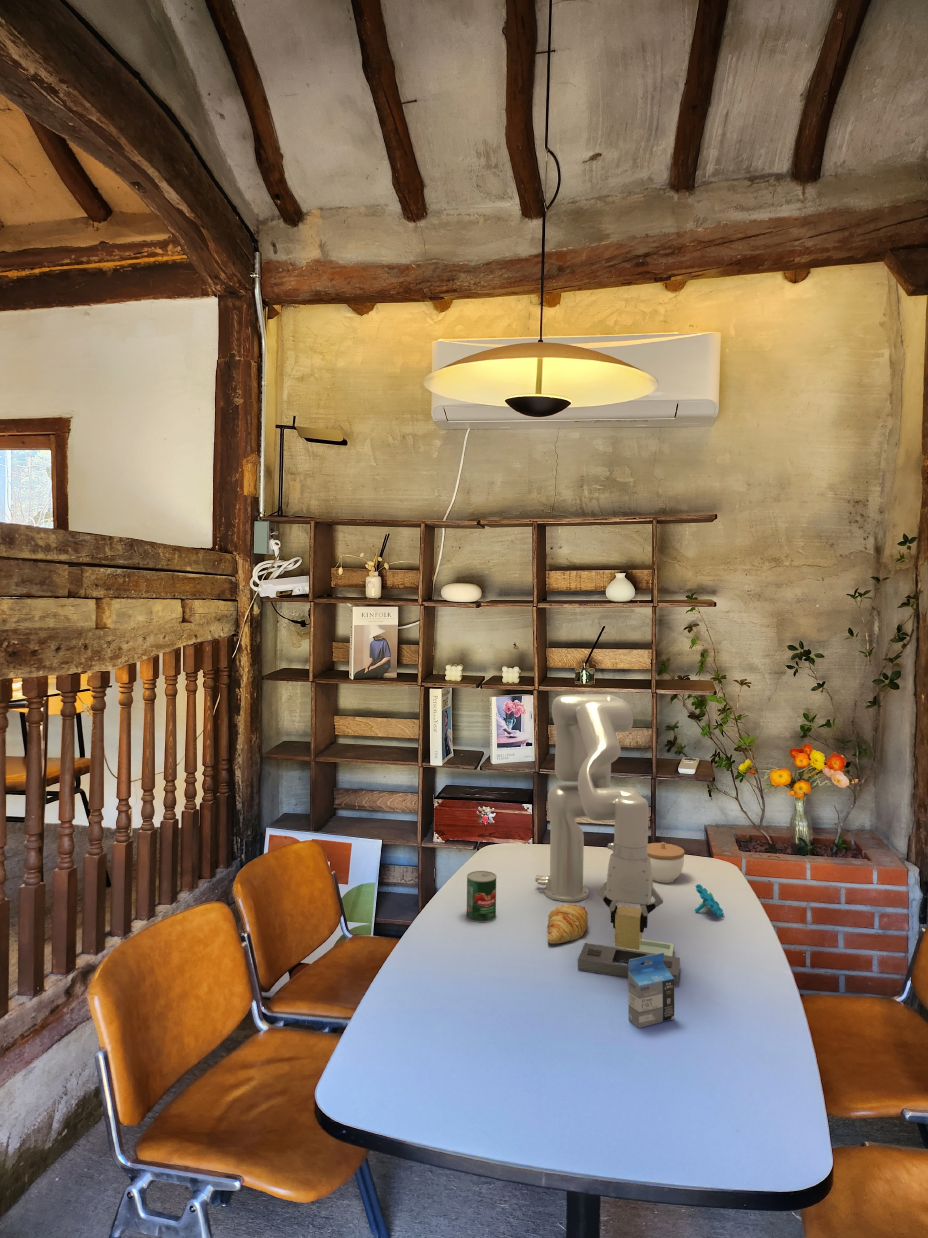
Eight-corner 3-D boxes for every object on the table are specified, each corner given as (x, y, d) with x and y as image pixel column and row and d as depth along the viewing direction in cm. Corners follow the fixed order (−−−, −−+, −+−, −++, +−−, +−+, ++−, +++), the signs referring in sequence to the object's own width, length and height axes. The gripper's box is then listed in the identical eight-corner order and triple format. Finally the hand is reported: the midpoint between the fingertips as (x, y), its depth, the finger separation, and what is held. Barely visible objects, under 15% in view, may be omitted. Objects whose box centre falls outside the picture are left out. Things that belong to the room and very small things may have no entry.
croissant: (561, 964, 190) (576, 939, 188) (527, 937, 194) (541, 912, 192) (591, 930, 208) (605, 907, 206) (560, 906, 213) (573, 883, 210)
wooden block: (614, 946, 179) (615, 914, 179) (618, 936, 184) (618, 904, 184) (639, 950, 177) (639, 917, 177) (641, 940, 182) (642, 908, 182)
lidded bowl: (688, 886, 233) (689, 849, 233) (646, 886, 233) (646, 849, 233) (677, 872, 246) (678, 837, 245) (637, 871, 246) (638, 836, 246)
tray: (619, 957, 186) (619, 950, 186) (623, 943, 194) (623, 936, 194) (671, 965, 182) (671, 958, 182) (673, 950, 190) (673, 944, 190)
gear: (724, 918, 206) (697, 886, 210) (707, 931, 207) (680, 899, 211) (727, 908, 216) (701, 878, 220) (711, 922, 217) (685, 891, 221)
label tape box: (639, 1029, 155) (640, 968, 155) (626, 1019, 159) (627, 959, 158) (675, 1020, 158) (676, 960, 158) (662, 1010, 162) (663, 951, 162)
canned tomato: (484, 925, 204) (485, 883, 203) (460, 917, 208) (460, 876, 208) (501, 915, 210) (502, 875, 210) (478, 908, 215) (478, 868, 214)
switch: (577, 970, 180) (577, 958, 179) (584, 953, 188) (585, 942, 188) (677, 986, 172) (677, 974, 172) (679, 968, 181) (680, 957, 181)
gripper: (590, 851, 179) (588, 929, 180) (667, 861, 173) (665, 941, 174) (596, 841, 186) (594, 916, 187) (670, 850, 180) (668, 927, 181)
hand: (628, 927), depth 180 cm, fingers closed on wooden block, 5 cm apart
